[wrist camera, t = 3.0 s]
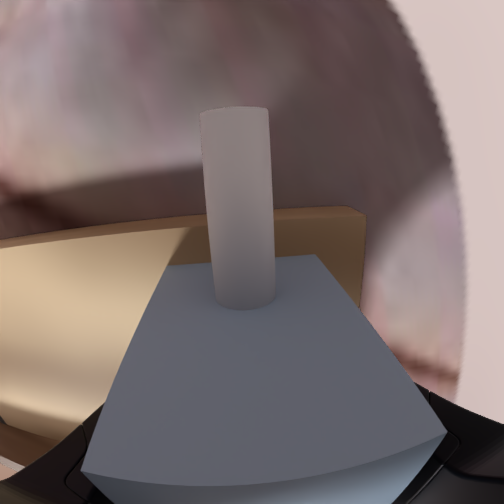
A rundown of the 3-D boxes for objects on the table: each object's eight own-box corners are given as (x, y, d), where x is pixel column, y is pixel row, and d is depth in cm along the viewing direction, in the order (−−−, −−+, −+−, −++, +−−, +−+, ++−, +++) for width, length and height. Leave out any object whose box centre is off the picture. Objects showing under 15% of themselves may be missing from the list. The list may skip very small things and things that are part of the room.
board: (321, 437, 13) (340, 496, 9) (12, 419, 12) (-9, 459, 8) (346, 205, 9) (417, 242, 5) (-66, 252, 8) (-112, 281, 4)
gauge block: (307, 386, 10) (356, 537, 4) (194, 396, 9) (185, 555, 4) (312, 121, 7) (521, 74, 1) (151, 132, 6) (-51, 102, 1)
